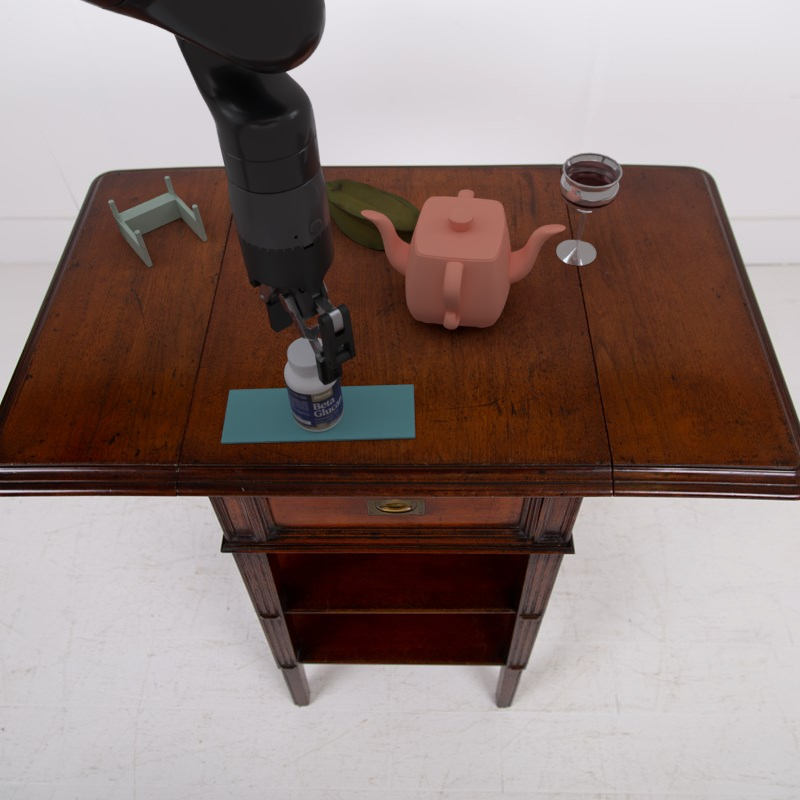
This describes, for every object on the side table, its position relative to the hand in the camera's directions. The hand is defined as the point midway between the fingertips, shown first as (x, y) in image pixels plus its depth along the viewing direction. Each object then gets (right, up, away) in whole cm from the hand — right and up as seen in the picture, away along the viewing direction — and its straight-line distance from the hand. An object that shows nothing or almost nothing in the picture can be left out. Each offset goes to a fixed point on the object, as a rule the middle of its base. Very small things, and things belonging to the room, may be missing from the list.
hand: (306, 352), depth 73 cm
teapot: (+16, +7, +18) cm, 25 cm away
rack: (-22, +17, +26) cm, 38 cm away
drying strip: (+1, -6, +8) cm, 10 cm away
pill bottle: (0, -6, +7) cm, 10 cm away
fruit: (+6, +17, +26) cm, 32 cm away
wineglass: (+31, +14, +22) cm, 41 cm away
